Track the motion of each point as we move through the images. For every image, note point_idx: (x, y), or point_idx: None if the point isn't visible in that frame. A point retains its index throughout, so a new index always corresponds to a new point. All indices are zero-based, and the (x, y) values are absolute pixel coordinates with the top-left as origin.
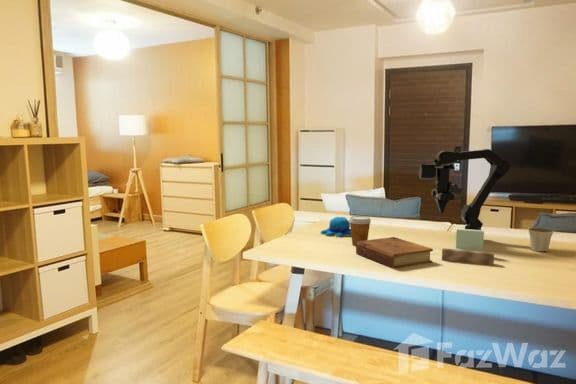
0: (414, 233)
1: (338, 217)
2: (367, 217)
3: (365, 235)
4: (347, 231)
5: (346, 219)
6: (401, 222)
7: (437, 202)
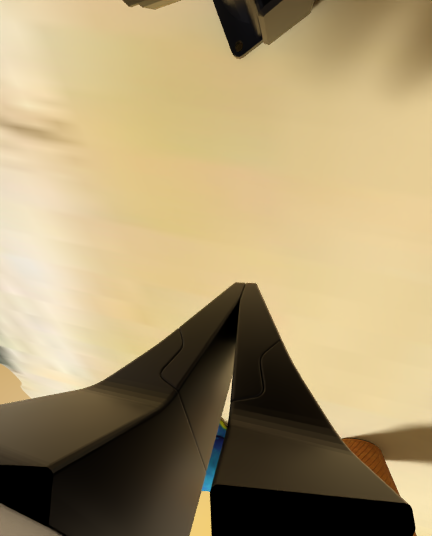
0: (166, 291)
1: (207, 490)
2: None
3: (396, 491)
4: None
5: (209, 477)
6: (12, 290)
7: (261, 491)
